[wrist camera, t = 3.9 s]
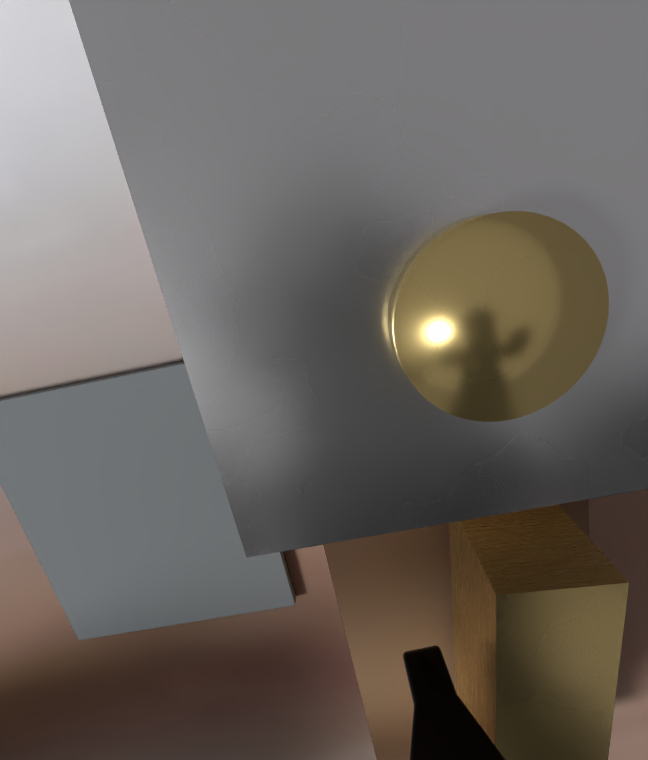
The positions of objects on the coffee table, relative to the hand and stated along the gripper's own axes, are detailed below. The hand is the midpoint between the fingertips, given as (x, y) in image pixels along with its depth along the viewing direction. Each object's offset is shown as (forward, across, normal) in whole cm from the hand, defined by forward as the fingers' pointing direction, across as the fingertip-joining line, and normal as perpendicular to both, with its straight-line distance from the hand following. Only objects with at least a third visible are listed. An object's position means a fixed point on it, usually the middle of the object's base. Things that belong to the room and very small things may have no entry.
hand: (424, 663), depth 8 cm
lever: (+1, -1, +3) cm, 3 cm away
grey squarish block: (+1, -1, -8) cm, 8 cm away
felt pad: (+5, +7, -2) cm, 8 cm away
